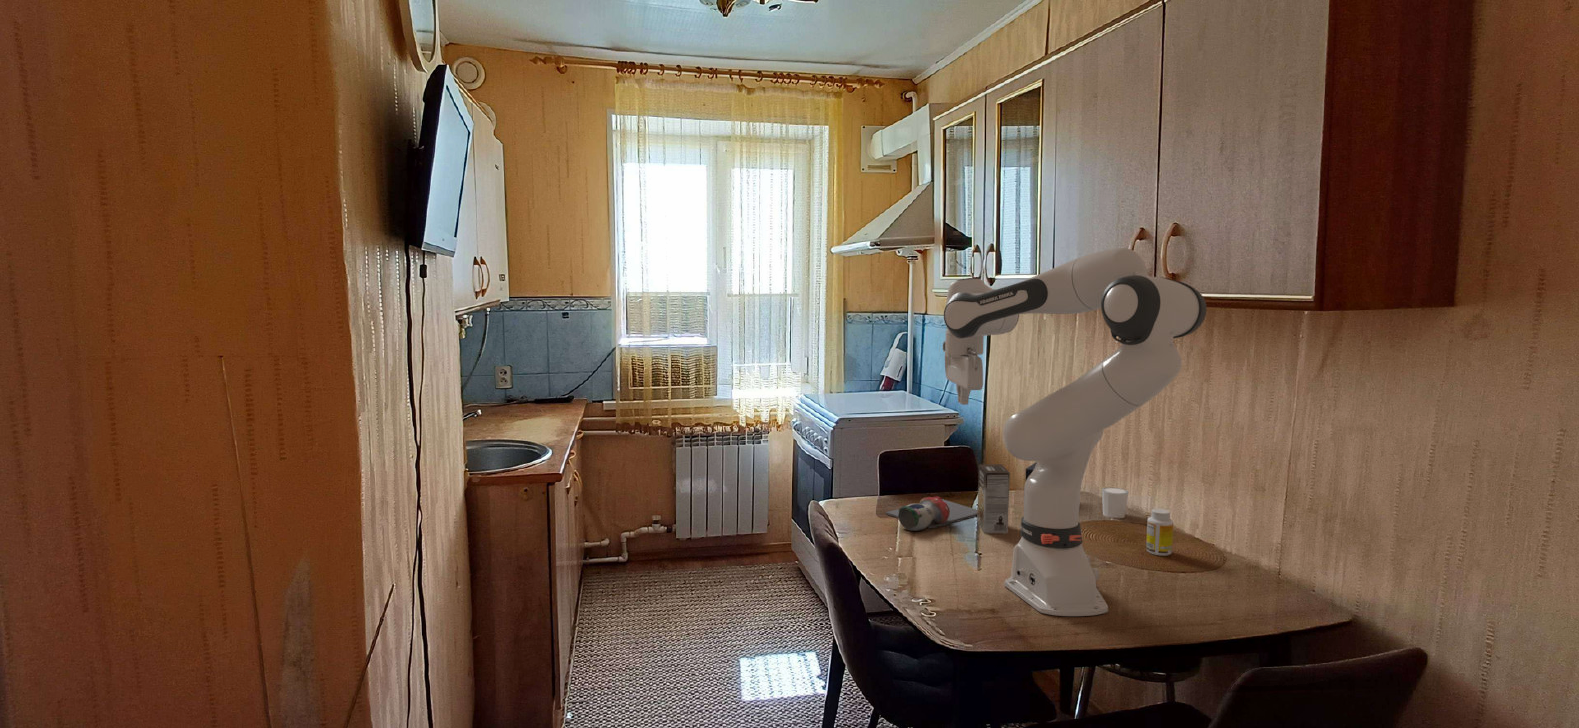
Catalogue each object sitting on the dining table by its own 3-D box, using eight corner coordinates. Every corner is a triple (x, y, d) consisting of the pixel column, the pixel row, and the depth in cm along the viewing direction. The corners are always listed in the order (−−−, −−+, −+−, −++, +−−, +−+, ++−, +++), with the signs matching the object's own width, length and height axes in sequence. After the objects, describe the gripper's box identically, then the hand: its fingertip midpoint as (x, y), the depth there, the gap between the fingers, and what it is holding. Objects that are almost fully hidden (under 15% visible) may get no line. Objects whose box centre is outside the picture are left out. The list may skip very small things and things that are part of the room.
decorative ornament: (893, 502, 202) (936, 490, 210) (894, 526, 203) (937, 513, 211) (916, 511, 195) (960, 498, 202) (918, 536, 195) (961, 522, 203)
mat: (928, 529, 200) (928, 527, 200) (885, 514, 213) (886, 512, 213) (983, 513, 214) (983, 511, 214) (940, 500, 226) (940, 498, 226)
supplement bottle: (1174, 552, 184) (1177, 510, 182) (1167, 558, 179) (1170, 515, 178) (1150, 546, 187) (1152, 506, 186) (1142, 552, 183) (1144, 511, 182)
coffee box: (976, 522, 206) (977, 463, 204) (1000, 522, 206) (1001, 463, 204) (984, 533, 197) (985, 472, 195) (1009, 533, 197) (1011, 472, 195)
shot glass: (1128, 513, 213) (1130, 489, 213) (1125, 520, 208) (1126, 495, 207) (1102, 510, 217) (1103, 485, 216) (1098, 516, 211) (1099, 491, 210)
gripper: (990, 350, 173) (989, 410, 175) (965, 342, 194) (964, 397, 195) (963, 350, 173) (961, 411, 175) (940, 343, 193) (939, 397, 195)
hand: (963, 403), depth 185 cm, fingers closed
